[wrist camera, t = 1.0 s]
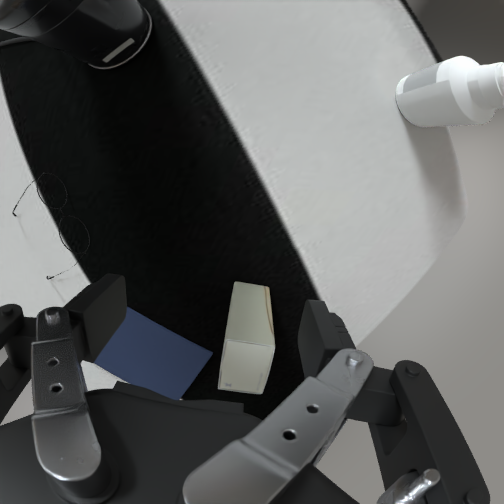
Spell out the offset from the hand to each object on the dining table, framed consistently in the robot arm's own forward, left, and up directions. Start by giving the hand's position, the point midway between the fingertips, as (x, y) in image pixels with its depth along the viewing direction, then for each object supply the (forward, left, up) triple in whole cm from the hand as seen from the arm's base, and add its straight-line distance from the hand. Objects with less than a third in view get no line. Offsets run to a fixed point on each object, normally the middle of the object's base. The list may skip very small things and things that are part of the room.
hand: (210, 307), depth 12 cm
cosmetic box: (+7, -9, -21) cm, 24 cm away
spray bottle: (+11, +24, -21) cm, 34 cm away
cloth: (-1, -25, -21) cm, 33 cm away
